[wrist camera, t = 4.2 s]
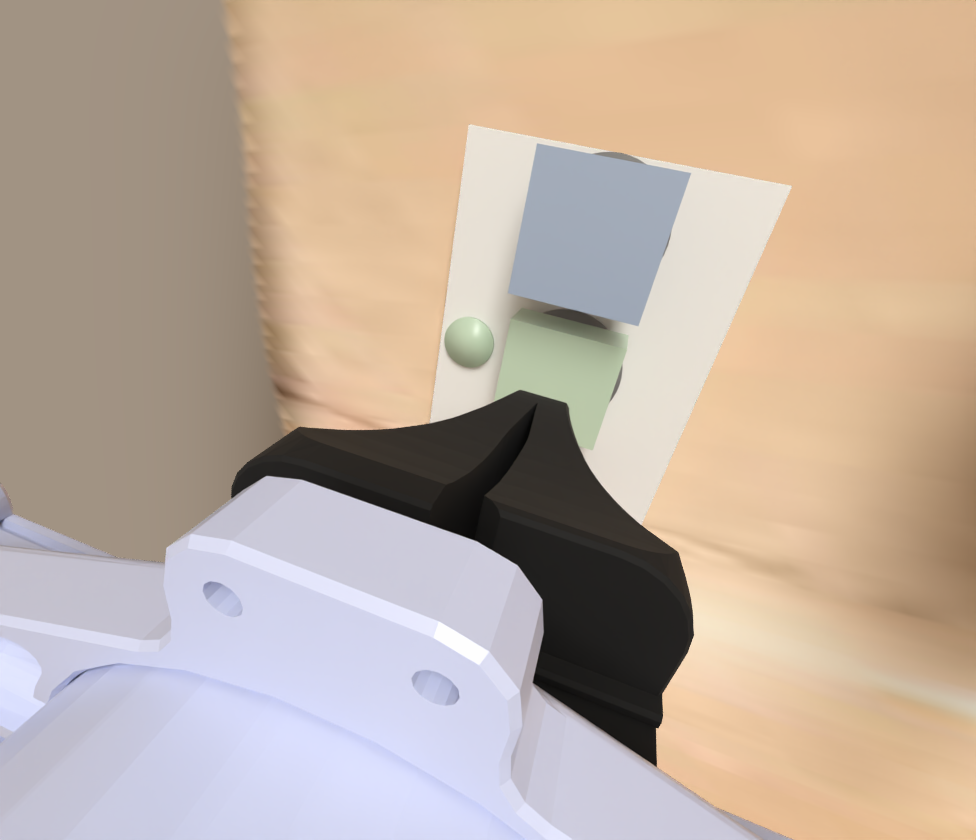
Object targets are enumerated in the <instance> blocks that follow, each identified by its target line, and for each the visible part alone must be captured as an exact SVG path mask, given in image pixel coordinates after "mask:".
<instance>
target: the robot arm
mask: <svg viewBox="0 0 976 840" xmlns="http://www.w3.org/2000/svg"><path fill="white" fill-rule="evenodd" d="M231 495H232V496H231V497H232V498H231V500H229V501H228V502H227V503H225V504H224V505H223V506H221V507H220V508H219V509H218V510H216V511H215V512H214V513H212V514H211V515H210V516H208V517H207V518H206V519H204V520H203V521H202V522H200V523H199V524H198V525H196V526H195V527H194V528H192V529H191V530H190V531H188V532H187V533H186V534H184V535H183V536H182V537H180V538H179V539H178V540H177V541H175V542H174V543H173V544H171V545H170V546H169V547H167V548H166V559H165V562H156V561H146V560H137V559H136V560H135V559H126V558H118V557H116V556H113V555H111V554H108V553H106V552H104V551H101V550H99V549H96V548H94V547H92V546H89V545H87V544H85V543H82V542H80V541H77V540H75V539H73V538H70V537H68V536H65V535H63V534H60V533H58V532H56V531H53V530H51V529H48V528H46V527H44V526H41V525H39V524H37V523H34V522H31V521H29V520H27V519H25V518H22V517H20V516H17V515H15V514H13V513H12V512H13V507H12V504H11V501H10V498H9V496H8V493H7V491H6V490H5V488H4V487H3V485H2V484H1V483H0V840H793V839H791V838H788V837H786V836H784V835H781V834H779V833H776V832H774V831H772V830H769V829H767V828H764V827H762V826H760V825H757V824H755V823H752V822H750V821H748V820H745V819H743V818H740V817H738V816H736V815H733V814H731V813H729V812H726V811H724V810H721V809H719V808H717V807H715V806H713V805H712V804H710V803H709V802H707V801H706V800H704V799H703V798H701V797H700V796H699V795H697V794H696V793H694V792H693V791H691V790H690V789H688V788H687V787H685V786H684V785H682V784H681V783H679V782H678V781H676V780H675V779H673V778H672V777H671V776H669V775H668V774H666V773H665V772H663V771H662V770H660V769H659V768H657V757H656V728H659V726H660V724H661V722H662V718H663V706H662V693H663V692H664V690H665V688H666V687H667V685H668V684H669V682H670V680H671V679H672V677H673V675H674V674H675V672H676V671H677V669H678V667H679V666H680V664H681V662H682V661H683V659H684V658H685V656H686V654H687V653H688V650H689V647H690V645H691V642H692V639H693V636H694V631H693V610H692V604H691V597H690V593H689V589H688V585H687V581H686V577H685V573H684V570H683V567H682V563H681V560H680V556H679V553H678V552H677V551H676V550H674V549H673V548H672V547H670V546H669V545H667V544H666V543H665V542H663V541H662V540H661V539H659V538H658V537H656V536H655V535H654V534H652V533H651V532H649V531H648V530H647V529H645V528H644V527H643V526H642V525H640V524H639V523H638V522H637V521H636V520H635V519H634V518H633V517H631V516H630V515H629V514H628V513H627V512H626V511H625V510H624V509H623V508H622V507H621V506H620V505H619V504H618V503H617V502H616V501H615V500H614V499H613V498H612V497H611V495H610V494H609V493H608V492H607V491H606V490H605V489H604V487H603V486H602V485H601V484H600V482H599V481H598V480H597V478H596V477H595V475H594V474H593V472H592V471H591V469H590V468H589V466H588V464H587V462H586V460H585V458H584V456H583V454H582V452H581V450H580V447H579V445H578V443H577V440H576V437H575V434H574V431H573V428H572V424H571V420H570V415H569V407H568V405H567V403H565V402H561V401H558V400H555V399H551V398H548V397H544V396H541V395H537V394H534V393H530V392H527V391H523V390H518V391H516V392H513V393H511V394H509V395H507V396H505V397H503V398H501V399H499V400H497V401H495V402H492V403H490V404H488V405H486V406H484V407H481V408H478V409H476V410H473V411H470V412H468V413H465V414H462V415H459V416H457V417H453V418H450V419H446V420H442V421H438V422H434V423H429V424H424V425H418V426H410V427H403V428H395V429H382V430H335V429H319V428H306V427H298V428H297V429H295V430H294V431H292V432H291V433H289V434H288V435H286V436H285V437H283V438H282V439H281V440H279V441H278V442H276V443H275V444H273V445H272V446H271V447H269V448H268V449H266V450H265V451H263V452H262V453H260V454H259V455H257V456H256V457H254V458H253V459H252V460H250V461H249V462H247V464H245V465H244V467H243V468H242V469H241V470H240V471H239V472H238V473H237V475H236V477H235V480H234V482H233V485H232V494H231Z"/></svg>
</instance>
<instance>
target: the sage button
mask: <svg viewBox="0 0 976 840" xmlns="http://www.w3.org/2000/svg"><path fill="white" fill-rule="evenodd" d="M628 337H629V335H626V334H622V333H618V332H614V331H611V330H607V329H603V328H599V327H595V326H591V325H587V324H583V323H579V322H576V321H572V320H568V319H564V318H560V317H556V316H552V315H548V314H544V313H541V312H537V311H533V310H529V309H525V308H521V309H520V310H519V311H518V312H517V313H516V314H515V315H514V316H513V317H512V318H511V320H510V325H509V330H508V335H507V340H506V345H505V350H504V355H503V359H502V364H501V369H500V374H499V379H498V384H497V389H496V394H495V399H494V402H495V401H497V400H499V399H501V398H503V397H505V396H507V395H509V394H511V393H513V392H516V391H518V390H523V391H527V392H530V393H534V394H537V395H541V396H544V397H548V398H551V399H555V400H558V401H561V402H565V403H567V405H568V407H569V415H570V420H571V424H572V428H573V431H574V434H575V437H576V440H577V443H578V445H579V446H580V447H583V448H586V449H589V450H593V448H594V445H595V442H596V439H597V436H598V434H599V431H600V428H601V425H602V422H603V419H604V416H605V413H606V410H607V407H608V404H609V401H610V398H611V395H612V393H613V390H614V387H615V384H616V381H617V378H618V375H619V372H620V369H621V366H622V363H623V360H624V357H625V355H626V352H627V347H628Z"/></svg>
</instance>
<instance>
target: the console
mask: <svg viewBox="0 0 976 840" xmlns="http://www.w3.org/2000/svg"><path fill="white" fill-rule="evenodd" d="M537 143H538V144H543V145H548V146H554V147H559V148H564V149H569V150H574V151H579V152H585V153H590V154H595V155H600V156H605V157H611V158H616V159H621V160H626V161H631V162H636V163H642V164H647V165H652V166H657V167H662V168H668V169H673V170H678V171H683V172H688V173H691V175H690V178H689V181H688V184H687V187H686V190H685V193H684V196H683V198H682V201H681V204H680V207H679V210H678V213H677V216H676V219H675V222H674V225H673V227H672V230H671V233H670V236H669V239H668V242H667V245H666V248H665V251H664V254H663V256H662V259H661V262H660V265H659V268H658V271H657V274H656V277H655V280H654V282H653V285H652V288H651V291H650V294H649V297H648V300H647V303H646V306H645V309H644V311H643V314H642V317H641V320H640V323H639V326H635V325H631V324H627V323H623V322H619V321H616V320H612V319H608V318H604V317H600V316H596V315H592V314H588V313H584V312H580V311H576V310H572V309H568V308H564V307H560V306H556V305H552V304H548V303H544V302H540V301H536V300H533V299H529V298H525V297H521V296H517V295H513V294H509V293H508V289H509V284H510V279H511V274H512V269H513V264H514V259H515V254H516V249H517V243H518V238H519V233H520V228H521V223H522V218H523V213H524V208H525V202H526V197H527V192H528V187H529V182H530V177H531V172H532V167H533V161H534V156H535V151H536V146H537ZM791 188H792V186H790V185H784V184H779V183H774V182H769V181H763V180H758V179H753V178H748V177H742V176H737V175H732V174H727V173H721V172H716V171H711V170H706V169H700V168H695V167H690V166H685V165H680V164H674V163H669V162H664V161H659V160H653V159H648V158H643V157H638V156H632V155H627V154H623V153H617V152H611V151H606V150H601V149H596V148H590V147H585V146H580V145H575V144H569V143H564V142H559V141H554V140H548V139H543V138H538V137H533V136H527V135H522V134H517V133H512V132H506V131H501V130H496V129H491V128H486V127H480V126H475V125H470V124H469V127H468V135H467V143H466V150H465V158H464V166H463V173H462V181H461V189H460V196H459V204H458V211H457V219H456V227H455V234H454V242H453V250H452V257H451V265H450V273H449V280H448V288H447V295H446V303H445V311H444V318H443V326H442V334H441V341H440V349H439V357H438V364H437V372H436V379H435V387H434V395H433V402H432V410H431V418H430V423H434V422H438V421H442V420H446V419H450V418H453V417H457V416H459V415H462V414H465V413H468V412H470V411H473V410H476V409H478V408H481V407H484V406H486V405H488V404H490V403H492V402H494V399H495V394H496V389H497V384H498V379H499V374H500V369H501V364H502V359H503V355H504V350H505V345H506V340H507V335H508V330H509V325H510V320H511V318H512V317H513V316H514V315H515V314H516V313H517V312H518V311H519V310H520V309H521V308H525V309H529V310H533V311H537V312H541V313H544V314H548V315H552V316H556V317H560V318H564V319H568V320H572V321H576V322H579V323H583V324H587V325H591V326H595V327H599V328H603V329H607V330H611V331H614V332H618V333H622V334H626V335H629V337H628V347H627V352H626V355H625V357H624V360H623V363H622V366H621V369H620V372H619V375H618V378H617V381H616V384H615V387H614V390H613V393H612V395H611V398H610V401H609V404H608V407H607V410H606V413H605V416H604V419H603V422H602V425H601V428H600V431H599V434H598V436H597V439H596V442H595V445H594V448H593V450H589V449H586V448H583V447H580V446H579V447H580V450H581V452H582V454H583V456H584V458H585V460H586V462H587V464H588V466H589V468H590V469H591V471H592V472H593V474H594V475H595V477H596V478H597V480H598V481H599V482H600V484H601V485H602V486H603V487H604V489H605V490H606V491H607V492H608V493H609V494H610V495H611V497H612V498H613V499H614V500H615V501H616V502H617V503H618V504H619V505H620V506H621V507H622V508H623V509H624V510H625V511H626V512H627V513H628V514H629V515H630V516H631V517H633V518H634V519H635V520H636V521H637V522H638V523H639V524H640V525H642V522H643V520H644V518H645V516H646V513H647V511H648V509H649V507H650V504H651V502H652V500H653V498H654V495H655V493H656V491H657V489H658V486H659V484H660V482H661V480H662V477H663V475H664V473H665V471H666V468H667V466H668V464H669V462H670V459H671V457H672V455H673V453H674V450H675V448H676V446H677V444H678V441H679V439H680V437H681V435H682V432H683V430H684V428H685V426H686V423H687V421H688V419H689V417H690V414H691V412H692V410H693V408H694V405H695V403H696V401H697V399H698V396H699V394H700V392H701V390H702V388H703V385H704V383H705V381H706V379H707V376H708V374H709V372H710V370H711V367H712V365H713V363H714V361H715V358H716V356H717V354H718V352H719V349H720V347H721V345H722V343H723V340H724V338H725V336H726V334H727V331H728V329H729V327H730V325H731V322H732V320H733V318H734V316H735V313H736V311H737V309H738V307H739V304H740V302H741V300H742V298H743V295H744V293H745V291H746V289H747V286H748V284H749V282H750V280H751V277H752V275H753V273H754V271H755V268H756V266H757V264H758V262H759V259H760V257H761V255H762V253H763V250H764V248H765V246H766V244H767V241H768V239H769V237H770V235H771V232H772V230H773V228H774V226H775V223H776V221H777V219H778V217H779V214H780V212H781V210H782V208H783V205H784V203H785V201H786V199H787V197H788V194H789V192H790V190H791Z"/></svg>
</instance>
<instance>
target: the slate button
mask: <svg viewBox="0 0 976 840" xmlns="http://www.w3.org/2000/svg"><path fill="white" fill-rule="evenodd" d="M690 175H691V173H688V172H683V171H678V170H673V169H668V168H662V167H657V166H652V165H647V164H642V163H636V162H631V161H626V160H621V159H616V158H611V157H605V156H600V155H595V154H590V153H585V152H579V151H574V150H569V149H564V148H559V147H554V146H548V145H543V144H538V143H537V146H536V151H535V156H534V161H533V167H532V172H531V177H530V182H529V187H528V192H527V197H526V202H525V208H524V213H523V218H522V223H521V228H520V233H519V238H518V243H517V249H516V254H515V259H514V264H513V269H512V274H511V279H510V284H509V289H508V293H509V294H513V295H517V296H521V297H525V298H529V299H533V300H536V301H540V302H544V303H548V304H552V305H556V306H560V307H564V308H568V309H572V310H576V311H580V312H584V313H588V314H592V315H596V316H600V317H604V318H608V319H612V320H616V321H619V322H623V323H627V324H631V325H635V326H639V323H640V320H641V317H642V314H643V311H644V309H645V306H646V303H647V300H648V297H649V294H650V291H651V288H652V285H653V282H654V280H655V277H656V274H657V271H658V268H659V265H660V262H661V259H662V256H663V254H664V251H665V248H666V245H667V242H668V239H669V236H670V233H671V230H672V227H673V225H674V222H675V219H676V216H677V213H678V210H679V207H680V204H681V201H682V198H683V196H684V193H685V190H686V187H687V184H688V181H689V178H690Z"/></svg>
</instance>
